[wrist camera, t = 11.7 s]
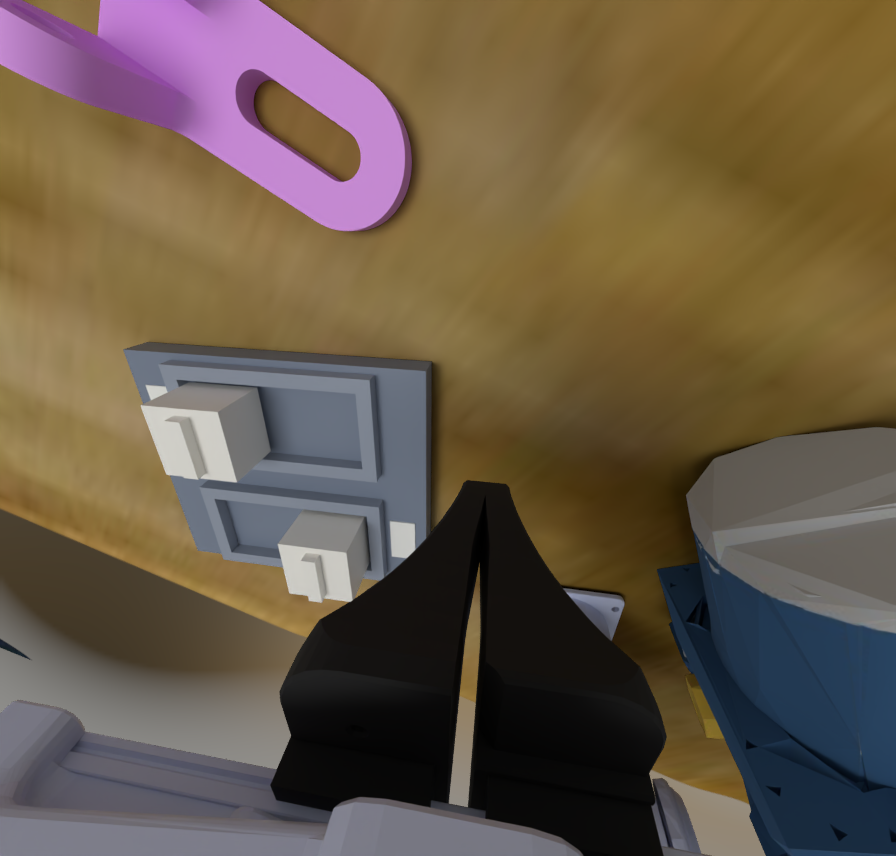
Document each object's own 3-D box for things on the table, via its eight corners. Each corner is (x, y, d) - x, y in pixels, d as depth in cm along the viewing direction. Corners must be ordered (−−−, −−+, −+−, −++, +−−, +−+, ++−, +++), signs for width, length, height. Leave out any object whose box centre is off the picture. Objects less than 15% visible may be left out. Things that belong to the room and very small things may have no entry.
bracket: (124, 87, 17) (-92, 6, 11) (143, -79, 15) (-124, -305, 8) (378, 254, 19) (316, 266, 13) (435, 131, 16) (391, 70, 10)
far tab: (369, 561, 26) (349, 611, 22) (313, 554, 26) (284, 601, 23) (365, 514, 24) (342, 561, 20) (304, 507, 24) (271, 551, 21)
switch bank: (430, 562, 28) (423, 590, 25) (212, 535, 29) (190, 558, 27) (431, 361, 21) (422, 376, 19) (147, 342, 23) (110, 353, 20)
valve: (934, 597, 23) (1593, 1089, 9) (659, 627, 27) (803, 989, 13) (929, 387, 19) (1985, 637, 5) (616, 460, 23) (746, 704, 10)
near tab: (271, 451, 23) (229, 489, 19) (208, 444, 23) (157, 481, 20) (257, 387, 21) (208, 417, 17) (189, 382, 21) (129, 410, 18)
